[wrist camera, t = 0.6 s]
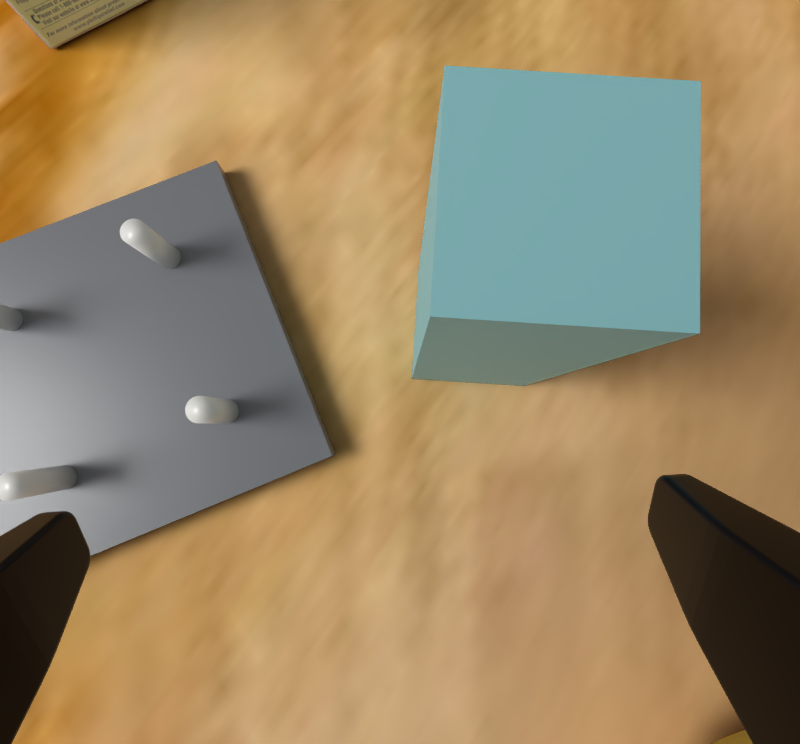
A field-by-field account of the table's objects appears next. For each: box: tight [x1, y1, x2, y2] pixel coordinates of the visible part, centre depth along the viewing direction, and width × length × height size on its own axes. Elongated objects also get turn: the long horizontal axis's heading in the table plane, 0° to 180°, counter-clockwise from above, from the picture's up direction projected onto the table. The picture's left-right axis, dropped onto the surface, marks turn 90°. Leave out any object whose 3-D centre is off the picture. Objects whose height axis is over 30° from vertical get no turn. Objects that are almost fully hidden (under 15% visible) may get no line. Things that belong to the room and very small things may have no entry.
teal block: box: [412, 66, 701, 386], centre depth 16 cm, size 5×5×13 cm
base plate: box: [0, 161, 335, 556], centre depth 20 cm, size 14×14×4 cm
